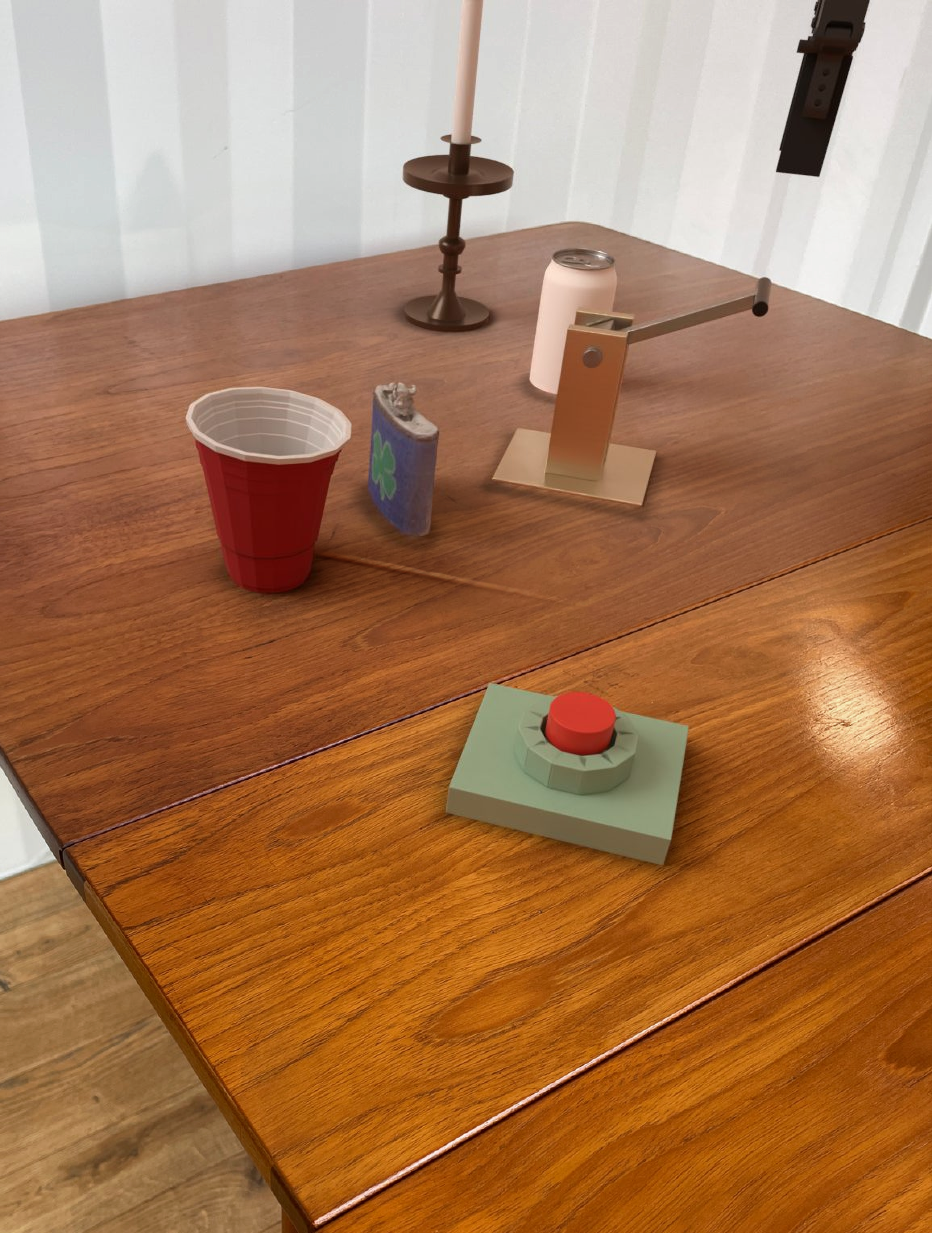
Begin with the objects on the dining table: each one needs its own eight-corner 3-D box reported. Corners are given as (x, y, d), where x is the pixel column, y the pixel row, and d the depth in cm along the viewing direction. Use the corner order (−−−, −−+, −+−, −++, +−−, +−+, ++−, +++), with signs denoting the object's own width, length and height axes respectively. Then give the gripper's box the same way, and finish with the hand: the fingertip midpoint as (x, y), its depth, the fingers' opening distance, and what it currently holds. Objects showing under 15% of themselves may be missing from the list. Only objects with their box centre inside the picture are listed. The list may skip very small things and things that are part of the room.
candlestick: (444, 293, 125) (477, -105, 101) (517, 321, 119) (571, -94, 95) (373, 315, 119) (391, -102, 96) (447, 346, 113) (485, -90, 90)
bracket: (653, 463, 95) (688, 310, 87) (638, 518, 88) (675, 357, 80) (515, 440, 98) (536, 289, 89) (490, 491, 91) (510, 332, 82)
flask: (435, 544, 84) (447, 407, 77) (399, 550, 83) (408, 412, 76) (390, 488, 90) (398, 357, 83) (356, 493, 90) (361, 361, 83)
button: (614, 723, 63) (620, 699, 62) (605, 763, 61) (611, 738, 59) (551, 710, 64) (556, 685, 63) (539, 748, 61) (544, 723, 60)
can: (590, 410, 103) (615, 274, 95) (521, 398, 104) (540, 263, 96) (601, 383, 107) (626, 251, 99) (535, 373, 109) (554, 242, 101)
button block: (680, 753, 67) (696, 701, 64) (662, 869, 60) (679, 815, 57) (485, 710, 69) (492, 658, 67) (445, 815, 62) (451, 762, 60)
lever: (774, 298, 82) (768, 265, 81) (771, 323, 78) (765, 289, 77) (589, 352, 89) (581, 322, 88) (578, 378, 85) (569, 347, 84)
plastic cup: (359, 611, 77) (366, 448, 69) (201, 621, 76) (190, 456, 68) (335, 532, 85) (338, 377, 77) (192, 540, 84) (180, 383, 76)
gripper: (854, -321, 66) (748, 126, 81) (859, -348, 53) (731, 190, 68) (991, -318, 64) (856, 137, 80) (1030, -345, 51) (860, 205, 67)
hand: (798, 160), depth 74 cm, fingers open, 5 cm apart
